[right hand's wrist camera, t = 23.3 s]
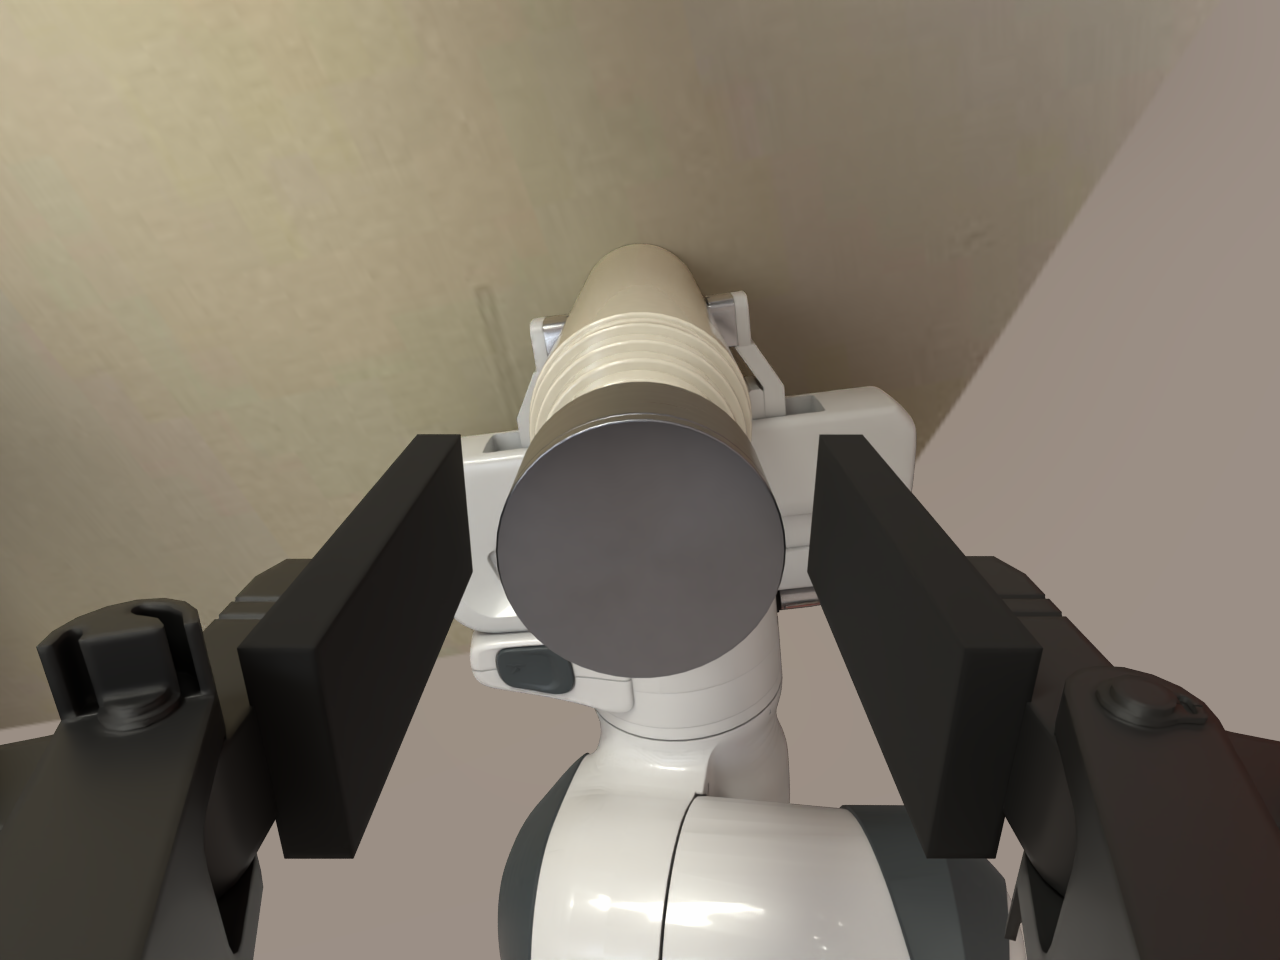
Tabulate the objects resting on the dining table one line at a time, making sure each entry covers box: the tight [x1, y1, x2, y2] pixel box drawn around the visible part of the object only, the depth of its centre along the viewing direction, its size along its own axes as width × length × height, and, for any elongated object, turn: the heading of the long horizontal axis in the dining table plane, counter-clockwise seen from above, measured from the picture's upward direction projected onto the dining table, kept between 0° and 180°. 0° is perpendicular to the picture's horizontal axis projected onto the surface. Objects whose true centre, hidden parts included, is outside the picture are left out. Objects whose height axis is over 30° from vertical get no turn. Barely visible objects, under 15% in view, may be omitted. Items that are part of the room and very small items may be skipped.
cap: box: [496, 382, 786, 678], centre depth 13 cm, size 4×4×2 cm
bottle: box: [529, 244, 752, 443], centre depth 24 cm, size 5×5×24 cm
